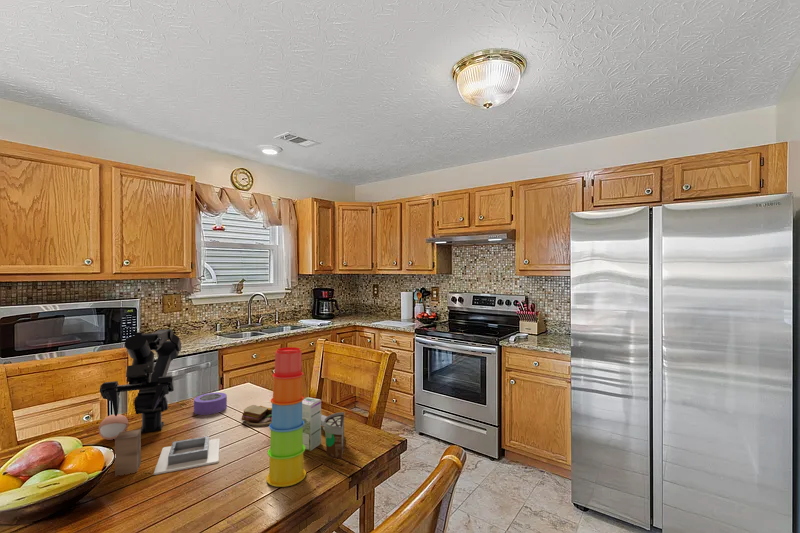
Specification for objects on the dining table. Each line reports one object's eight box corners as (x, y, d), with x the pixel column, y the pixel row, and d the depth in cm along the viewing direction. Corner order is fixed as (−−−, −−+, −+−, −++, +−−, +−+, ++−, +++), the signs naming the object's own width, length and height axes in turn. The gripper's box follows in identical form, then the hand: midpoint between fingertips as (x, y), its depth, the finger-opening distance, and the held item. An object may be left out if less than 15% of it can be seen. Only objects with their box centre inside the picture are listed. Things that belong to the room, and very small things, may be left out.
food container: (325, 443, 123) (325, 412, 123) (344, 442, 124) (344, 411, 124) (320, 462, 111) (320, 428, 111) (341, 461, 111) (341, 427, 111)
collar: (172, 449, 117) (172, 441, 117) (209, 443, 121) (209, 435, 121) (168, 465, 108) (168, 456, 108) (207, 458, 112) (207, 449, 112)
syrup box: (321, 443, 123) (322, 398, 123) (310, 451, 117) (310, 404, 117) (307, 440, 125) (307, 396, 125) (295, 447, 120) (295, 401, 120)
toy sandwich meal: (268, 429, 134) (268, 416, 134) (235, 425, 137) (235, 412, 137) (287, 415, 146) (287, 403, 146) (256, 412, 149) (256, 400, 149)
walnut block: (119, 467, 108) (119, 432, 108) (140, 463, 110) (140, 429, 110) (114, 476, 103) (114, 439, 103) (136, 472, 106) (136, 436, 106)
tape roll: (198, 405, 156) (198, 393, 156) (229, 403, 159) (229, 391, 159) (190, 416, 145) (190, 403, 145) (223, 413, 148) (223, 400, 148)
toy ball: (94, 445, 121) (94, 420, 121) (103, 435, 128) (103, 412, 128) (124, 441, 124) (124, 417, 124) (131, 431, 131) (131, 408, 131)
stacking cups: (258, 478, 102) (259, 350, 102) (291, 463, 110) (291, 344, 110) (280, 493, 96) (280, 356, 96) (313, 476, 104) (314, 349, 104)
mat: (163, 449, 119) (163, 447, 119) (219, 439, 125) (219, 438, 125) (153, 474, 104) (153, 473, 104) (218, 462, 111) (218, 461, 111)
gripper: (101, 356, 115) (89, 405, 105) (173, 350, 122) (167, 395, 112) (109, 375, 122) (98, 422, 112) (176, 369, 130) (171, 412, 119)
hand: (134, 413), depth 114 cm, fingers open, 9 cm apart
